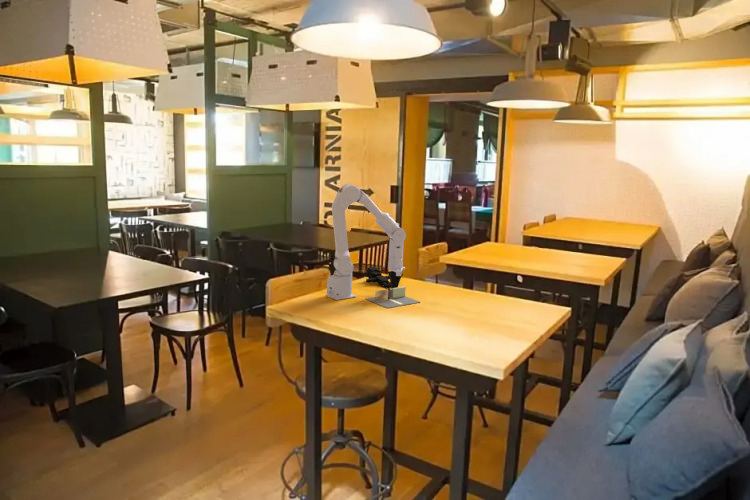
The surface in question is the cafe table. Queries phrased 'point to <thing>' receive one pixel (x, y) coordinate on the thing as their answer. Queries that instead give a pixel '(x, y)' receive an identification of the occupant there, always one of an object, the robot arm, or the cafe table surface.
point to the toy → (377, 277)
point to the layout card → (394, 301)
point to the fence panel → (397, 292)
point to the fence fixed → (382, 294)
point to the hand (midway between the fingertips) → (394, 289)
